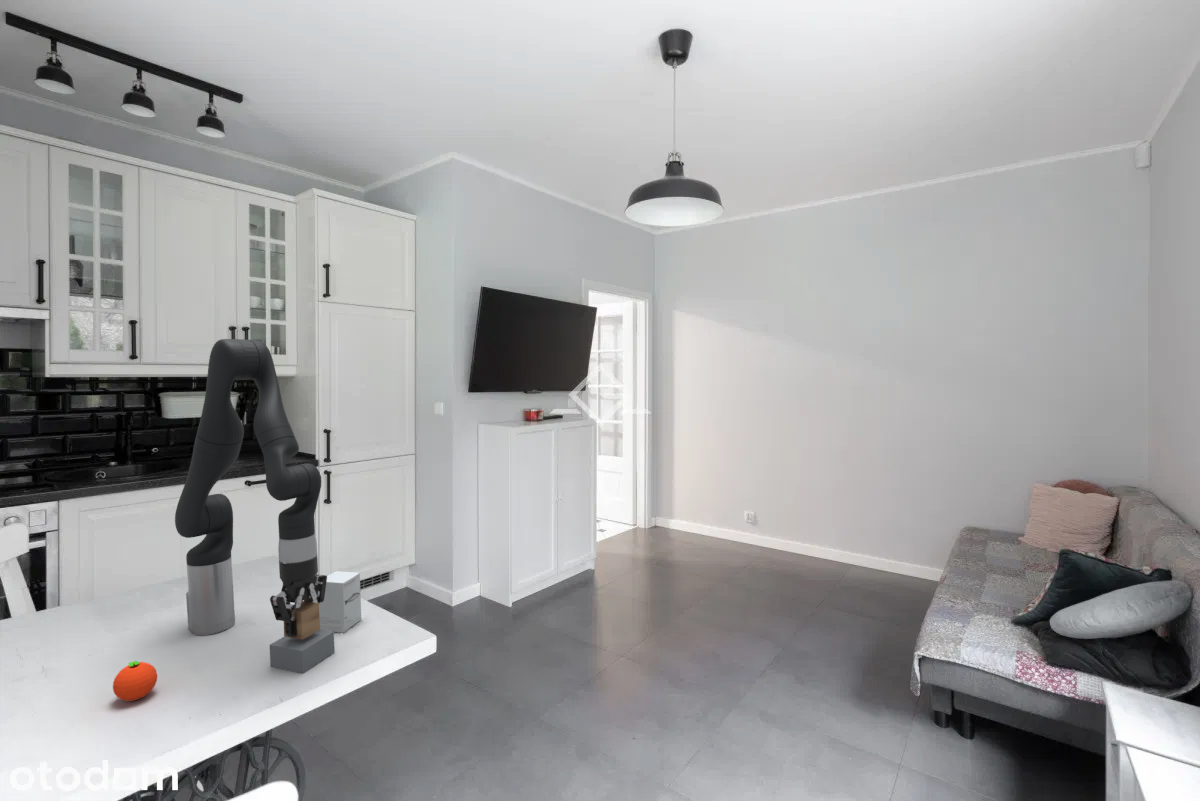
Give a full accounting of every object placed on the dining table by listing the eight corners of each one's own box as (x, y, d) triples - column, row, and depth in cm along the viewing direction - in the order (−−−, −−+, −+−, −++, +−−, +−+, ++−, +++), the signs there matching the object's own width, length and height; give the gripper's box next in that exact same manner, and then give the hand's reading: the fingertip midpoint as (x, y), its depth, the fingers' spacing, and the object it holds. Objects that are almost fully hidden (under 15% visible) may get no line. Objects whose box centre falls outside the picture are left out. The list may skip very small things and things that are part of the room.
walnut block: (284, 636, 127) (282, 609, 126) (302, 626, 132) (301, 600, 131) (302, 639, 125) (301, 612, 125) (320, 629, 130) (318, 603, 130)
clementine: (110, 696, 115) (107, 662, 115) (153, 682, 121) (150, 649, 120) (117, 713, 110) (114, 677, 110) (162, 696, 115) (159, 662, 115)
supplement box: (344, 633, 141) (342, 583, 140) (317, 631, 143) (315, 581, 142) (362, 620, 148) (360, 572, 147) (337, 617, 150) (334, 570, 149)
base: (270, 666, 126) (269, 644, 126) (303, 647, 135) (302, 626, 134) (303, 673, 123) (302, 650, 123) (334, 652, 132) (333, 631, 132)
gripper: (309, 543, 135) (313, 614, 136) (256, 564, 122) (261, 643, 123) (336, 546, 133) (339, 618, 134) (285, 568, 119) (289, 648, 121)
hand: (301, 629), depth 129 cm, fingers closed on walnut block, 5 cm apart
